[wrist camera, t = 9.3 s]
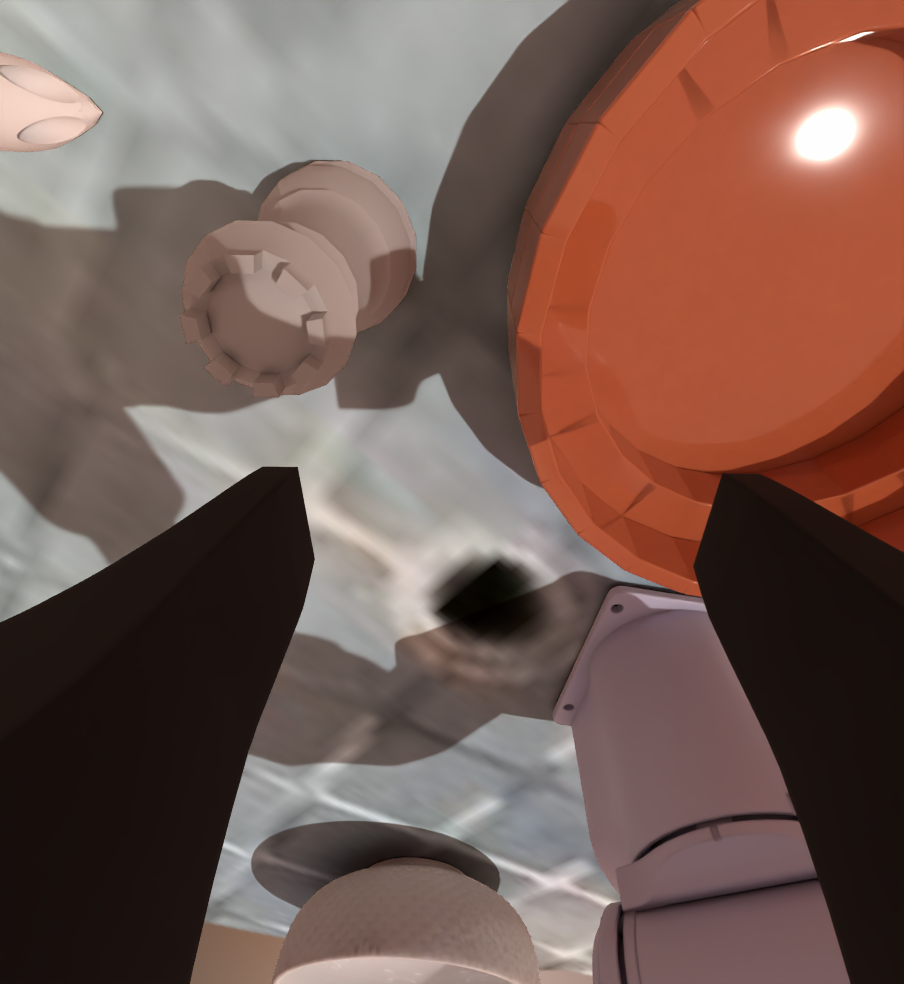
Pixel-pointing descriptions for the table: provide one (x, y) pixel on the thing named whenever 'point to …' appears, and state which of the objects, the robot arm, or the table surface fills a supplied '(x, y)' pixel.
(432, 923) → the cereal bowl
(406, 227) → the rook chess piece
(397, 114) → the table surface
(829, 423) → the terracotta bowl
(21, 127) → the pink cylindrical rod
